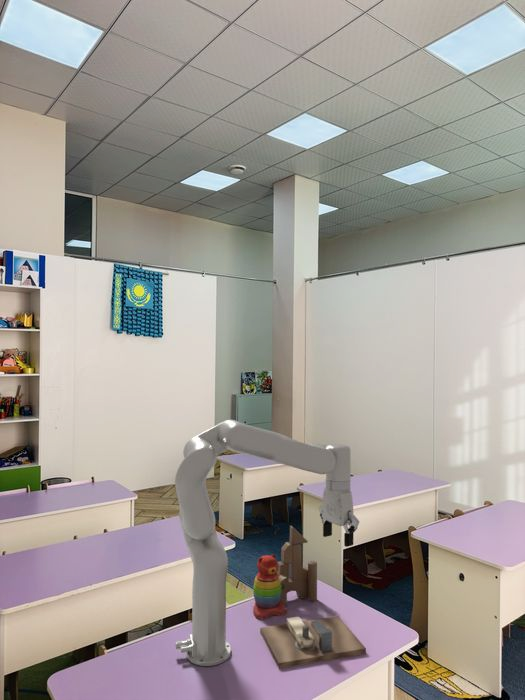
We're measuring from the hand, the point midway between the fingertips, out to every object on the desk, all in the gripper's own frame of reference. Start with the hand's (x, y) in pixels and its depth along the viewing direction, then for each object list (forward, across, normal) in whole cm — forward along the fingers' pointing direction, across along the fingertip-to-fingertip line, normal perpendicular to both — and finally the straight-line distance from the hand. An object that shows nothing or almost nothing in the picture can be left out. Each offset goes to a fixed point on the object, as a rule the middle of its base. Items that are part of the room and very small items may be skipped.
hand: (337, 540), depth 153 cm
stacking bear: (+28, -22, -11) cm, 37 cm away
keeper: (+26, +5, -10) cm, 29 cm away
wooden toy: (+28, -23, +1) cm, 36 cm away
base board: (+28, 0, -11) cm, 30 cm away
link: (+26, -2, -13) cm, 29 cm away
